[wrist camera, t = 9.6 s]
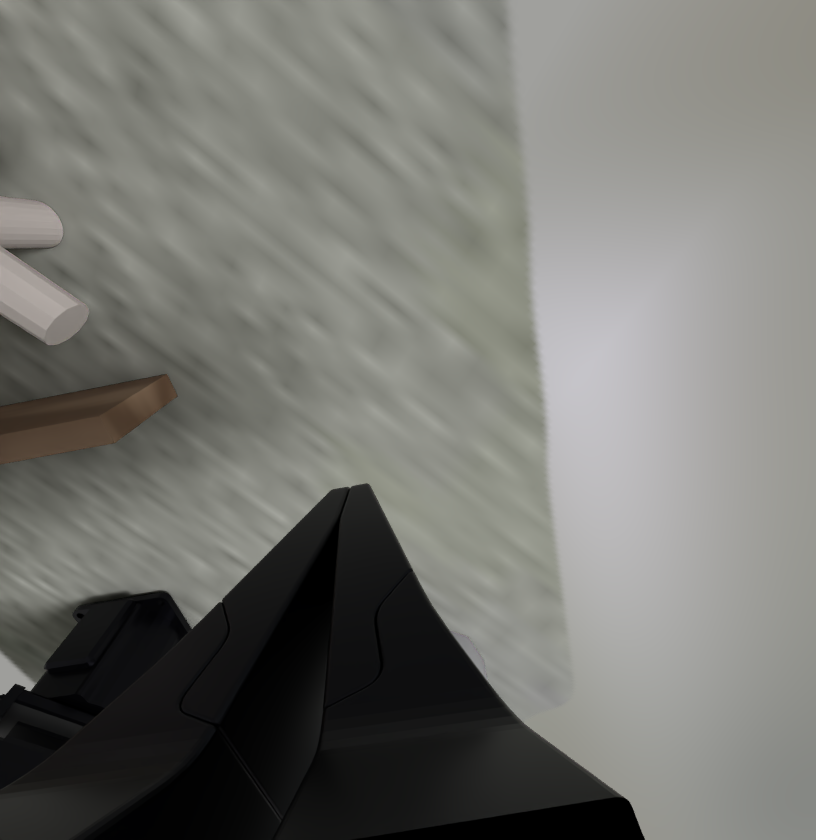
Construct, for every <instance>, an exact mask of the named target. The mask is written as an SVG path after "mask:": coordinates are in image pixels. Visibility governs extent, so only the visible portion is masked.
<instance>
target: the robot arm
mask: <svg viewBox="0 0 816 840" xmlns="http://www.w3.org/2000/svg"><path fill="white" fill-rule="evenodd" d="M222 602H223V603H222ZM222 602H219V603H218V604H217V605H216V606H215V607H214V608H213V609H212V610H211V611H210V612H209V613H208V614H207V615H206V616H205V617H204V618H203V619H202V620H201V621H200V622H199V623H198V624H197V625H196V626H195V627H194V628H193V629H191V627H190V626H189V624H188V623H187V621H186V619H185V618H184V616H183V615H182V613H181V612H180V610H179V608H178V607H177V605H176V604H175V602H174V600H173V599H172V597H171V596H170V595H169V594H167V593H164V592H160V593H154V594H148V595H142V596H136V597H130V598H124V599H118V600H112V601H106V602H100V603H93V604H87V605H81V606H78V608H77V609H76V610H75V611H74V612H73V617H74V618H75V620H76V621H77V622H78V624H77V625H76V626H75V628H74V629H73V630H72V631H71V633H70V634H69V635H68V636H67V637H66V639H65V640H64V641H63V642H62V644H61V645H60V646H59V647H58V649H57V650H56V651H55V652H54V653H53V655H52V656H51V657H50V658H49V660H48V661H47V662H46V664H45V666H44V669H45V670H46V672H45V674H44V675H43V676H42V677H41V679H40V680H39V681H38V682H37V684H36V685H35V686H34V688H33V689H32V690H31V691H27V690H24V689H25V687H23V686H20V685H17V684H15V685H14V686H13V687H12V688H11V689H10V690H9V692H8V693H7V694H6V695H5V694H3V695H0V840H645V838H644V836H643V834H642V832H641V829H640V826H639V824H638V821H637V819H636V816H635V813H634V811H633V808H632V806H631V804H630V802H629V801H628V800H627V799H625V798H624V797H623V796H621V795H620V794H619V793H617V792H616V791H615V790H613V789H612V788H610V787H609V786H608V785H606V784H605V783H604V782H602V781H601V780H600V779H598V778H597V777H596V776H594V775H593V774H591V773H590V772H589V771H587V770H586V769H585V768H583V767H582V766H580V765H579V764H578V763H576V762H575V761H574V760H572V759H571V758H570V757H568V756H567V755H566V754H564V753H563V752H561V751H560V750H559V749H557V748H556V747H555V746H553V745H552V744H551V743H549V742H548V741H547V740H545V739H544V738H543V737H541V736H540V735H538V734H537V733H536V732H534V731H533V730H532V729H530V728H529V727H528V726H527V725H525V724H524V723H523V722H522V721H521V720H520V719H519V718H518V717H517V716H516V715H515V714H514V713H513V712H512V711H511V710H510V708H509V707H508V706H507V705H506V704H505V703H504V701H503V700H502V699H501V698H500V697H499V695H498V694H497V693H496V692H495V690H494V689H493V688H492V687H491V685H490V684H489V683H488V681H487V680H486V679H485V677H484V676H483V675H482V673H481V672H480V671H479V669H478V668H477V667H476V665H475V664H474V662H473V661H472V660H471V658H470V657H469V656H468V654H467V653H466V652H465V650H464V649H463V648H462V646H461V645H460V644H459V642H458V641H457V640H456V638H455V637H454V636H453V634H452V633H451V632H450V630H449V629H448V628H447V626H446V625H445V623H444V622H443V620H442V619H441V617H440V616H439V615H438V613H437V612H436V610H435V609H434V607H433V606H432V604H431V602H430V601H429V599H428V597H427V595H426V593H425V592H424V590H423V588H422V586H421V585H420V583H419V581H418V579H417V577H416V575H415V573H414V572H413V569H412V567H411V565H410V563H409V561H408V559H407V557H406V555H405V553H404V551H403V549H402V547H401V545H400V543H399V541H398V539H397V537H396V536H395V534H394V532H393V530H392V528H391V526H390V524H389V522H388V520H387V518H386V516H385V514H384V512H383V510H382V508H381V506H380V504H379V502H378V500H377V498H376V496H375V494H374V492H373V490H372V488H371V486H370V485H369V484H368V483H366V484H361V485H355V486H352V487H351V488H349V487H343V488H338V489H333V490H331V491H330V492H329V493H328V494H327V495H326V496H325V497H324V498H323V499H322V500H321V501H320V502H319V503H318V504H317V505H316V506H315V507H314V508H313V509H312V510H311V511H310V512H309V513H308V514H307V515H306V516H305V517H304V518H303V519H302V520H301V521H300V522H299V523H298V524H297V525H296V526H295V527H294V528H293V529H292V530H291V531H290V532H289V533H288V534H287V535H286V536H285V537H284V538H283V539H282V540H281V541H280V542H279V543H278V544H277V545H276V546H275V547H274V548H273V549H272V550H271V551H270V552H269V553H268V554H267V555H266V556H265V557H264V558H263V559H262V560H261V561H260V562H259V563H258V564H257V565H256V566H255V567H254V568H253V569H252V570H251V571H250V572H249V573H248V574H247V575H246V576H245V577H244V578H243V579H242V580H241V581H240V582H239V583H238V584H237V585H236V586H235V587H234V588H233V589H232V590H231V591H230V592H229V593H228V594H227V595H226V596H225V597H224V598H223V600H222Z"/></svg>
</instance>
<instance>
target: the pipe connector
mask: <svg viewBox="0 0 816 840" xmlns="http://www.w3.org/2000/svg"><path fill="white" fill-rule="evenodd" d="M62 237H63V227H62V223H61V221H60V219H59V217H58V216H57V214H56V213H55V212H54V211H53V210H52V209H51V208H50V207H49V206H47V205H46V204H44V203H42V202H39V201H37V200H28V199H19V198H11V197H2V196H0V315H2V316H3V317H5V318H6V319H8V320H9V321H11V322H13V323H14V324H16V325H17V326H19V327H20V328H22V329H24V330H25V331H27V332H28V333H30V334H31V335H33V336H34V337H36V338H38V339H39V340H41V341H42V342H44V343H45V344H47V345H58V344H60V343H62V342H64V341H66V340H68V339H70V338H71V337H72V336H73V335H74V334H76V333H77V332H78V331H79V330H80V329H81V327H82V326H83V325H84V323H85V322H86V321H87V318H88V315H89V312H90V311H89V309H88V307H87V305H86V304H84V303H83V302H81V301H80V300H78V299H77V298H75V297H74V296H73V295H71V294H70V293H68V292H67V291H65V290H64V289H62V288H61V287H59V286H58V285H57V284H55V283H54V282H52V281H51V280H49V279H48V278H46V277H45V276H44V275H42V274H41V273H39V272H38V271H36V270H35V269H33V268H32V267H30V266H29V265H28V264H26V263H25V262H23V261H22V260H20V259H19V258H17V257H16V256H14V255H13V254H12V253H10V252H9V251H7V250H6V248H51V247H55V246H56V245H58V244H59V243H60V242H61V240H62Z"/></svg>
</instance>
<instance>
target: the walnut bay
mask: <svg viewBox="0 0 816 840" xmlns="http://www.w3.org/2000/svg"><path fill="white" fill-rule="evenodd" d="M176 397H177V394H176V392H175V390H174V388H173V386H172V383H171V381H170V379H169V377H168V375H167V374H165V375H160V376H154V377H149V378H144V379H139V380H134V381H129V382H124V383H119V384H114V385H108V386H103V387H98V388H93V389H88V390H83V391H78V392H73V393H67V394H62V395H57V396H52V397H47V398H42V399H37V400H32V401H26V402H21V403H16V404H11V405H6V406H1V407H0V464H5V463H11V462H16V461H21V460H27V459H32V458H37V457H43V456H48V455H53V454H59V453H64V452H69V451H75V450H80V449H85V448H91V447H96V446H102V445H107V444H112V443H116V442H117V441H118V440H120V439H121V438H122V437H124V436H125V435H126V434H128V433H129V432H130V431H132V430H133V429H134V428H136V427H137V426H138V425H140V424H141V423H142V422H144V421H145V420H146V419H148V418H149V417H150V416H152V415H153V414H154V413H156V412H157V411H158V410H160V409H161V408H162V407H164V406H165V405H166V404H168V403H169V402H170V401H172V400H173V399H174V398H176Z"/></svg>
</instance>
